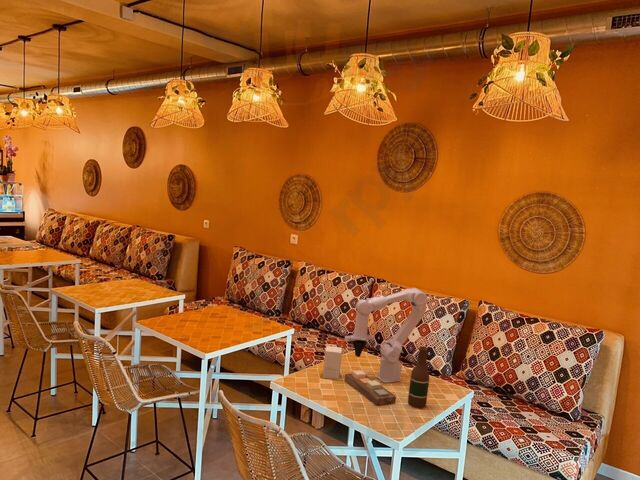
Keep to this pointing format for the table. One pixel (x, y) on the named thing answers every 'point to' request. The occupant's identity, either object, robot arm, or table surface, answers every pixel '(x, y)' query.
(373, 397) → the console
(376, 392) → the key slate
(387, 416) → the table surface
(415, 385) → the beer bottle
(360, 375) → the key ivory
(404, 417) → the table surface
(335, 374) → the supplement box
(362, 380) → the key terracotta
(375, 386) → the key sage
